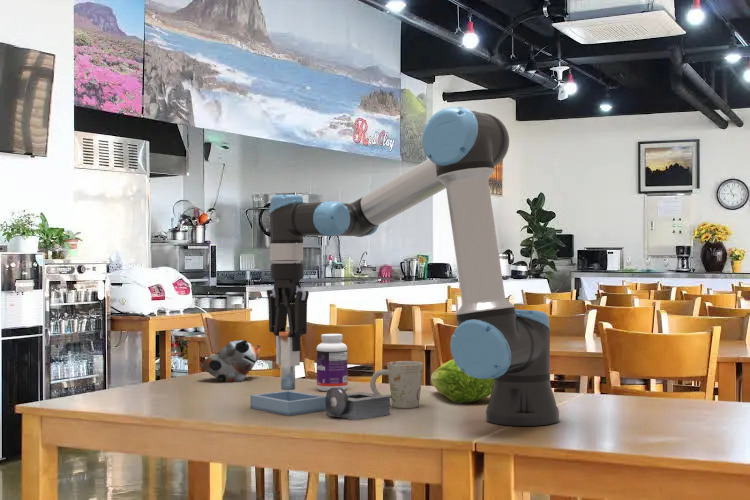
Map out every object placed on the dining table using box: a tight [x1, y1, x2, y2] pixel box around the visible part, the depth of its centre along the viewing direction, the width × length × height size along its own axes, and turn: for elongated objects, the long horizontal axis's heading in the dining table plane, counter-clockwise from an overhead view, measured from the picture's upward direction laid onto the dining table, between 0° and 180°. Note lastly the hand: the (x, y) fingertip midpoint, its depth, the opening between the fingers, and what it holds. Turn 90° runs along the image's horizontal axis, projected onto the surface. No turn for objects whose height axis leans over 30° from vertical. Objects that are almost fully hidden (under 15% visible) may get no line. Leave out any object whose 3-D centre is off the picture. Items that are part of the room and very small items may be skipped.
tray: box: [249, 390, 326, 417], centre depth 226 cm, size 15×11×3 cm
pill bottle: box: [316, 333, 349, 392], centre depth 257 cm, size 8×8×14 cm
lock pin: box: [279, 330, 296, 391], centre depth 226 cm, size 4×4×13 cm
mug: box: [369, 360, 424, 409], centre depth 229 cm, size 8×13×10 cm, turn 78°
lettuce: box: [430, 358, 494, 404], centre depth 240 cm, size 12×24×13 cm
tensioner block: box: [325, 387, 391, 421], centre depth 217 cm, size 10×12×6 cm
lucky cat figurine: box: [200, 339, 261, 383], centre depth 280 cm, size 15×12×14 cm
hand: (287, 364), depth 226 cm, fingers closed on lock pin, 4 cm apart
